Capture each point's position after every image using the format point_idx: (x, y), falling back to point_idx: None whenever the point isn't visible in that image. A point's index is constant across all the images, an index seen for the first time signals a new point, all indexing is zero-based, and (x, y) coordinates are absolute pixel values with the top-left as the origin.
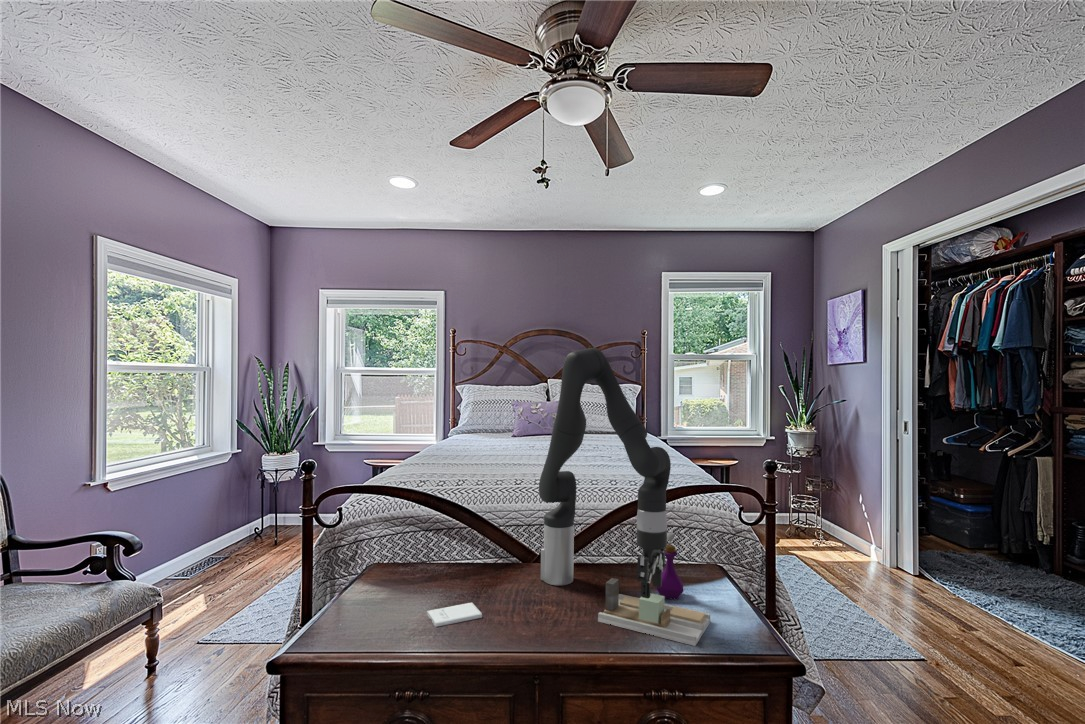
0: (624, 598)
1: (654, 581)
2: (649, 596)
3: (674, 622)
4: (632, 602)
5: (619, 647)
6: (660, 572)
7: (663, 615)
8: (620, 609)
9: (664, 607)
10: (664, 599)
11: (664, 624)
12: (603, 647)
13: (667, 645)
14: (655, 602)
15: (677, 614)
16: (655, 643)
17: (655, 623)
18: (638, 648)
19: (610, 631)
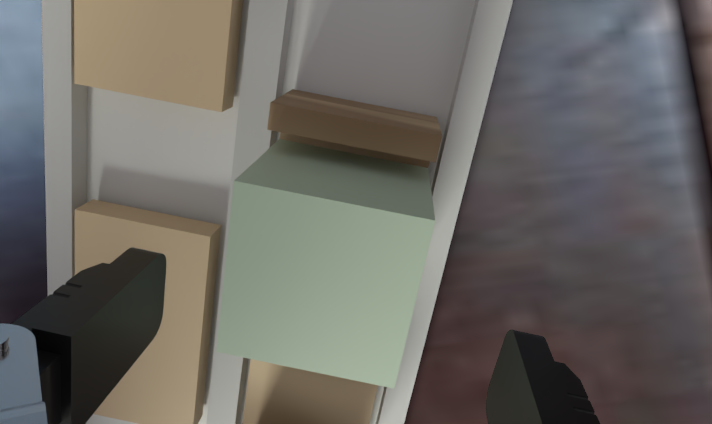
0: (123, 415)
1: (137, 340)
2: (545, 342)
3: (285, 57)
4: (159, 365)
5: (670, 339)
6: (40, 343)
7: (417, 144)
8: (300, 418)
9: (264, 154)
10: (245, 172)
11: (429, 121)
12: (688, 413)
13: (577, 70)
14: (427, 248)
15: (211, 42)
16: (568, 150)
17: None
18: (661, 240)
19: (483, 405)
